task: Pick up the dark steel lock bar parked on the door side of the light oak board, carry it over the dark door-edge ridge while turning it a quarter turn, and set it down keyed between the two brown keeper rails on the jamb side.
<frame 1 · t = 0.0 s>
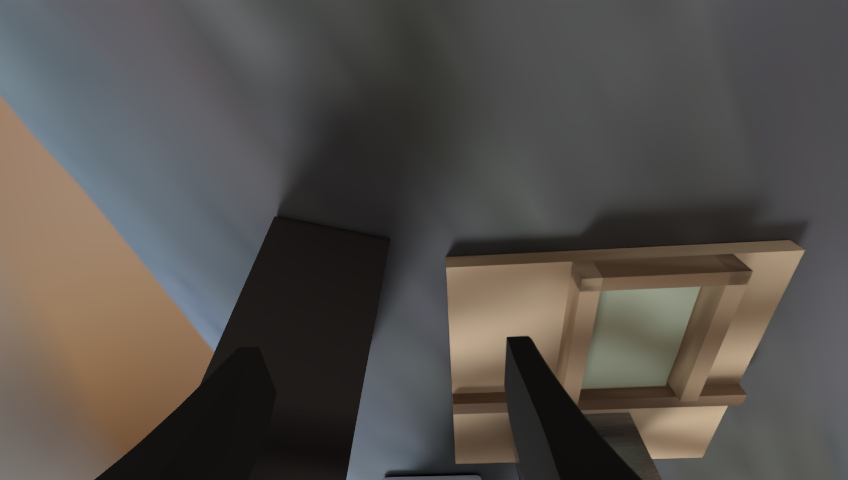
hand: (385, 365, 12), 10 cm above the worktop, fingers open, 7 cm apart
phone stand: (326, 289, 24), on the worktop
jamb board: (590, 365, 26), on the worktop
lock bar: (569, 432, 28), point 1 cm above the worktop, touching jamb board
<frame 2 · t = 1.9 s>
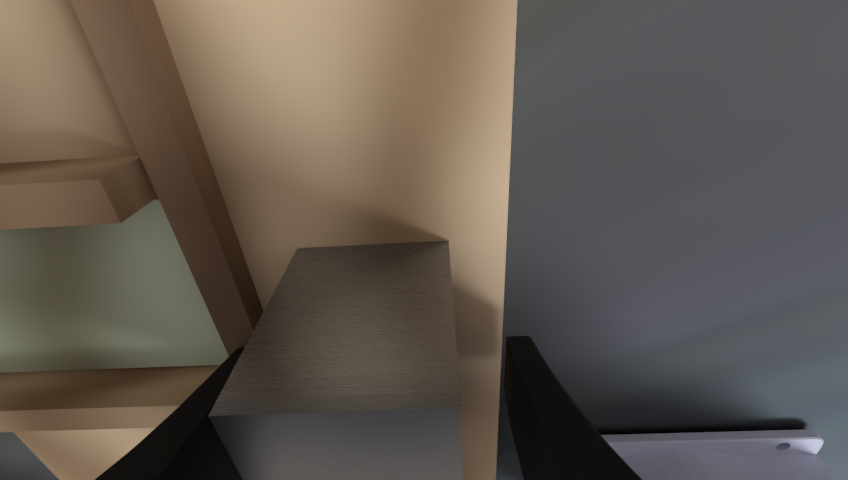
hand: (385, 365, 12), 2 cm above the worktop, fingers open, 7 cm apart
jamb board: (219, 308, 13), on the worktop
lock bar: (388, 347, 13), point 1 cm above the worktop, touching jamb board
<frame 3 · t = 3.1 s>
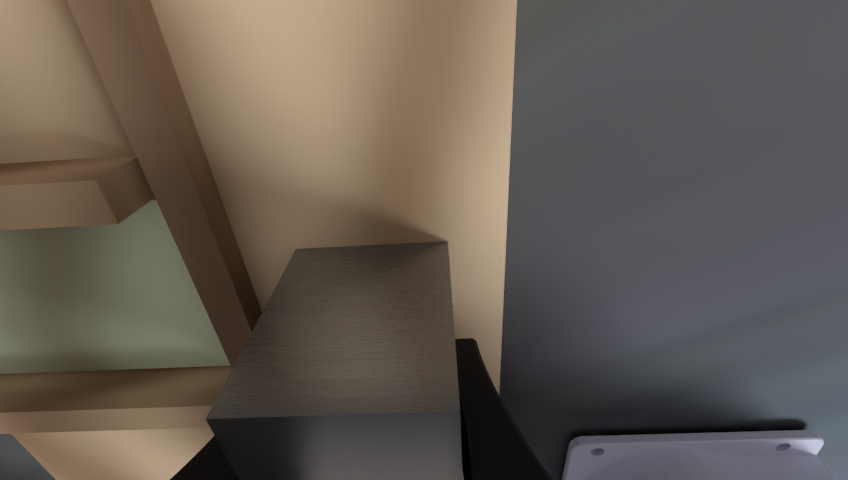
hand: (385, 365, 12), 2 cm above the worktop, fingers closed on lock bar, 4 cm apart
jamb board: (217, 309, 13), on the worktop
lock bar: (387, 348, 12), point 1 cm above the worktop, touching gripper, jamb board
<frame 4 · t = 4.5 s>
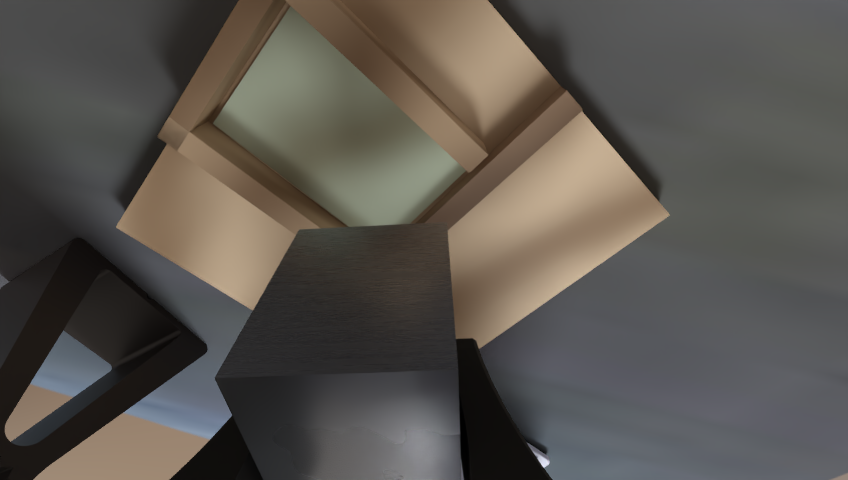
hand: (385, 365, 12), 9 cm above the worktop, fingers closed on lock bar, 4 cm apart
phone stand: (116, 314, 23), on the worktop
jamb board: (389, 211, 19), on the worktop
lock bar: (387, 329, 13), point 8 cm above the worktop, touching gripper
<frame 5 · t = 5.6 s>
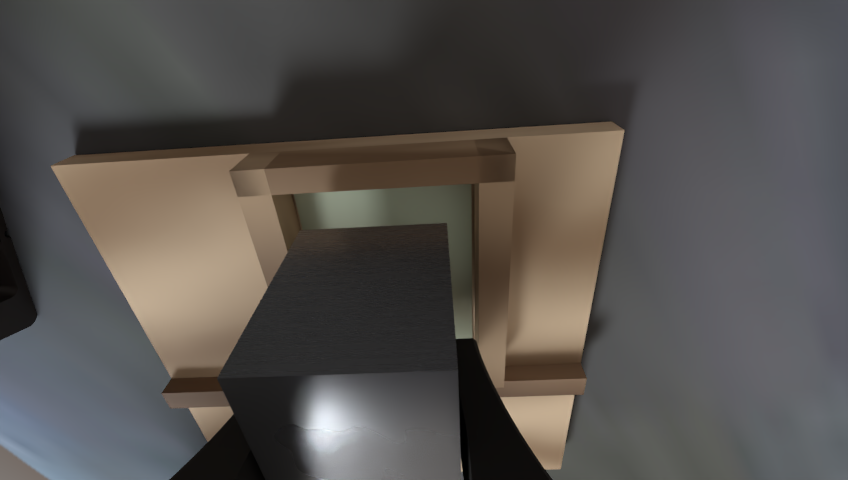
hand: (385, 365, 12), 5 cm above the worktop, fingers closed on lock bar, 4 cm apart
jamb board: (371, 337, 18), on the worktop
lock bar: (388, 329, 13), point 4 cm above the worktop, touching gripper
when the fingers open (3 cm above the worktop, at t = 6.4 s): lock bar stays where it is, resting on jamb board.
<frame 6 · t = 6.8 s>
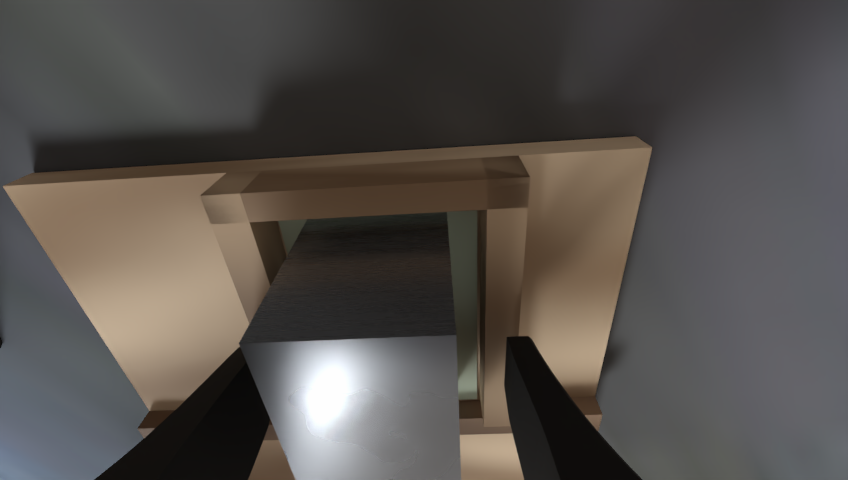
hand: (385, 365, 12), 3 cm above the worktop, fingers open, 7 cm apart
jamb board: (366, 366, 17), on the worktop
lock bar: (391, 312, 14), point 1 cm above the worktop, touching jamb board
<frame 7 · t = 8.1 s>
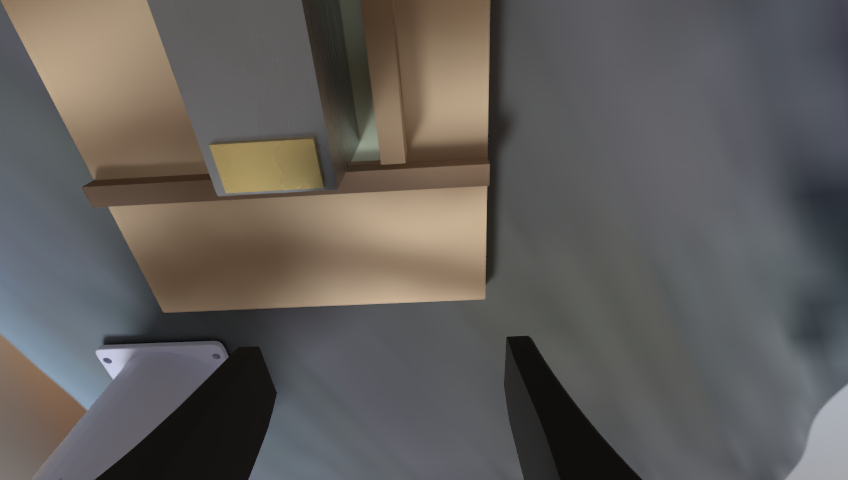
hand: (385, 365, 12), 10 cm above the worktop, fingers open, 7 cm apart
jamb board: (288, 140, 19), on the worktop
lock bar: (294, 49, 16), point 1 cm above the worktop, touching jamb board
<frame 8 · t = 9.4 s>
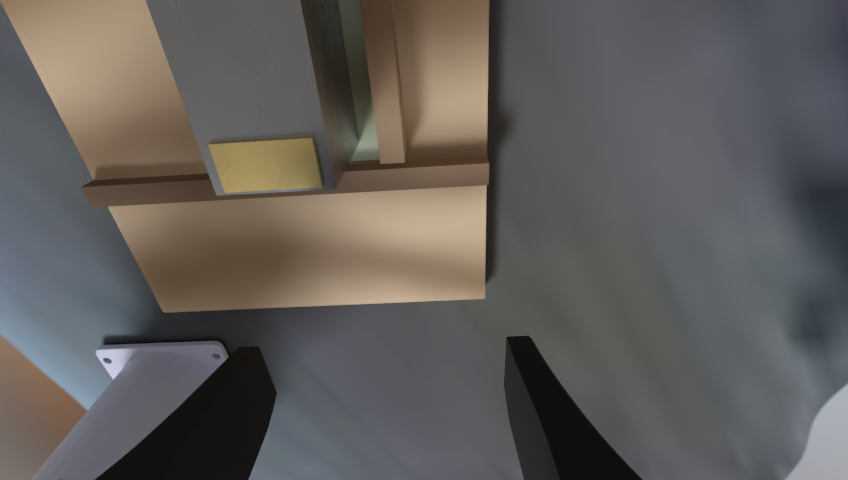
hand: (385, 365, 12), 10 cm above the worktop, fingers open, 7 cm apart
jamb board: (287, 140, 19), on the worktop
lock bar: (293, 49, 16), point 1 cm above the worktop, touching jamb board
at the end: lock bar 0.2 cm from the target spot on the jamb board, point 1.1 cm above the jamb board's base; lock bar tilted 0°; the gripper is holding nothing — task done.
